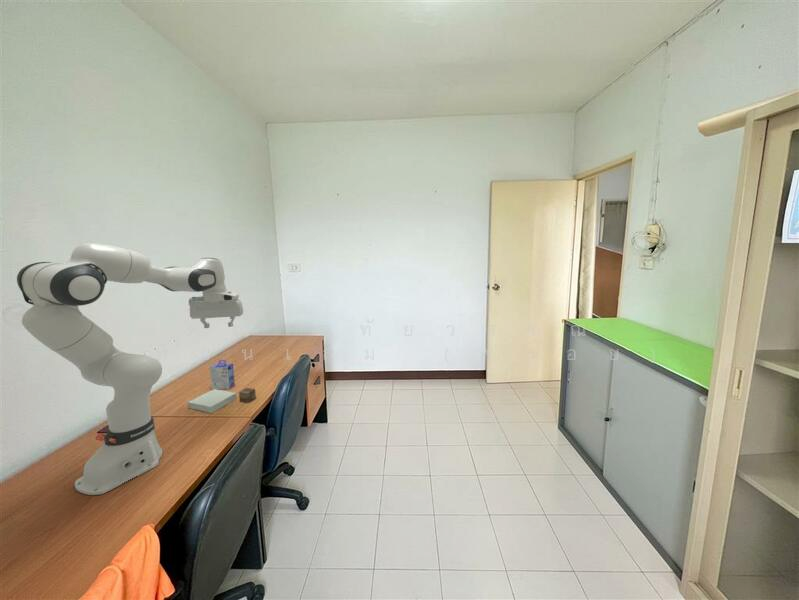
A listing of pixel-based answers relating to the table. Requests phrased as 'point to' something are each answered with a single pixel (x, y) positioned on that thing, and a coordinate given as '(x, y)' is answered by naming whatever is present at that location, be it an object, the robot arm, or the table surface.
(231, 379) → the ink cartridge box
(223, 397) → the base
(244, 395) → the walnut cube
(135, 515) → the table surface
